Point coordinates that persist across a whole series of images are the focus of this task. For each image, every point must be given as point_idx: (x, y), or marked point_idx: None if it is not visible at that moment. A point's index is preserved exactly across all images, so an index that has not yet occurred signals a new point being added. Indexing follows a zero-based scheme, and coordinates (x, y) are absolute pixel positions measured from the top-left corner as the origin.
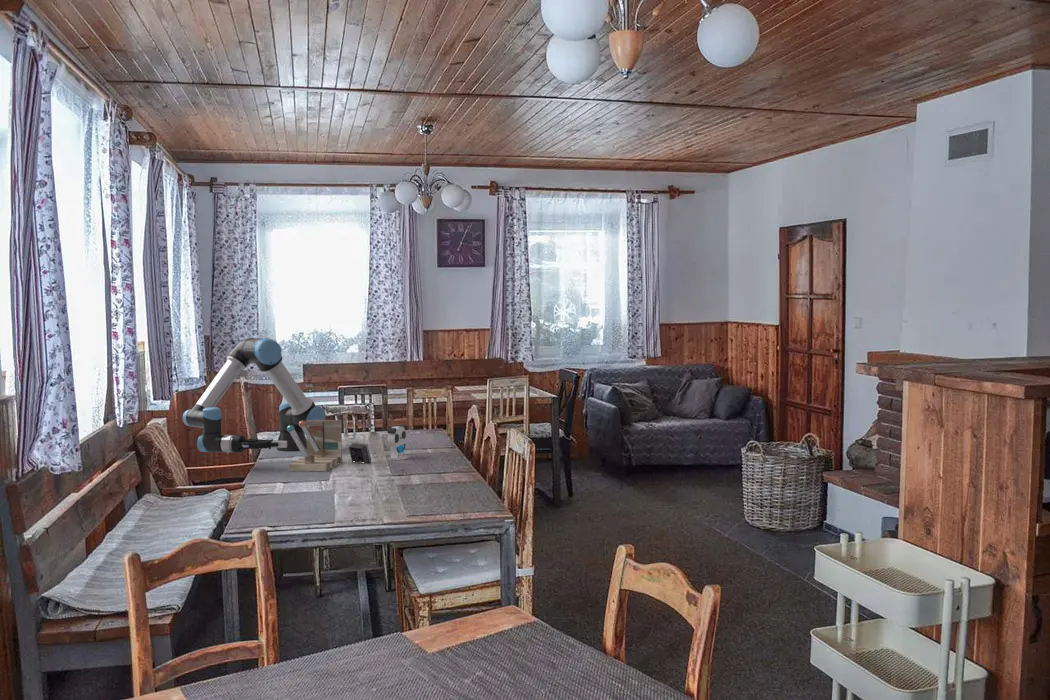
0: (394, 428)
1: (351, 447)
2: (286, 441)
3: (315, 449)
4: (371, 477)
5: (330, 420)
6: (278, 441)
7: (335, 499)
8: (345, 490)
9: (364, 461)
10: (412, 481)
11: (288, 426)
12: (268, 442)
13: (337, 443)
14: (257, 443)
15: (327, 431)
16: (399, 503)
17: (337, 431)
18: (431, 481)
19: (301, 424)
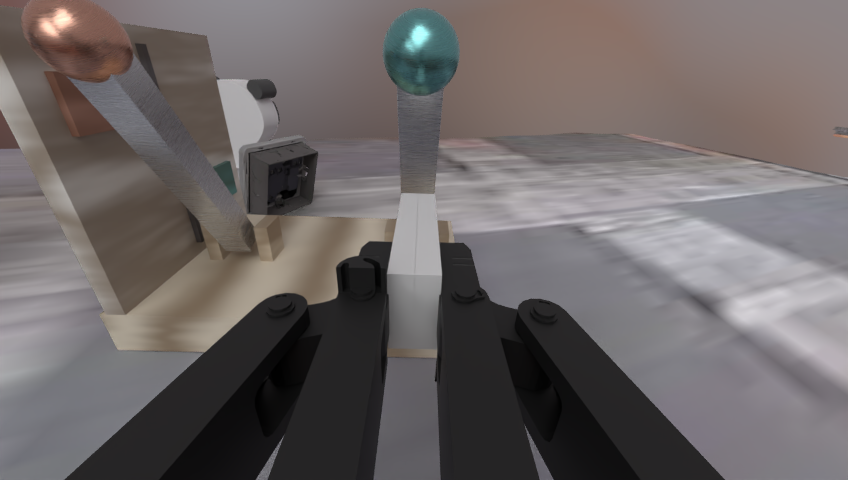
0: (269, 80)
1: (258, 167)
2: (417, 195)
3: (239, 226)
4: (498, 184)
5: (167, 31)
6: (436, 225)
7: (730, 196)
8: (648, 195)
9: (311, 195)
10: (510, 159)
11: (446, 21)
12: (489, 303)
13: (230, 165)
14: (699, 464)
15: (176, 109)
16: (661, 160)
17: (212, 103)
18: (501, 151)
19: (122, 41)
